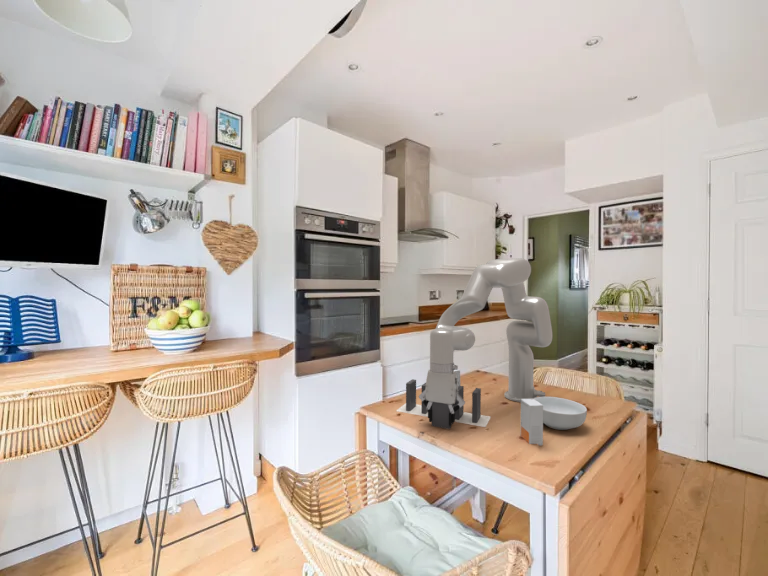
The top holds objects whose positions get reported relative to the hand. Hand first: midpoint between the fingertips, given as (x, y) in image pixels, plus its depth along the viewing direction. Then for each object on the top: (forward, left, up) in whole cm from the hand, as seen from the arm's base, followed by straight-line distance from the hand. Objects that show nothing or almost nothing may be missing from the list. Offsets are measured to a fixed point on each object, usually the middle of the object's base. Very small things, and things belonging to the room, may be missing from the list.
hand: (441, 421), depth 117 cm
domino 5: (-9, -11, -1) cm, 14 cm away
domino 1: (+15, -11, -1) cm, 19 cm away
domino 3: (0, 0, -2) cm, 2 cm away
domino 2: (+9, -11, -1) cm, 14 cm away
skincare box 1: (+5, -30, -2) cm, 31 cm away
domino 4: (-3, -11, -1) cm, 11 cm away
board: (+3, -11, -2) cm, 12 cm away
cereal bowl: (-34, -20, -2) cm, 40 cm away
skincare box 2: (-27, -3, -2) cm, 27 cm away
